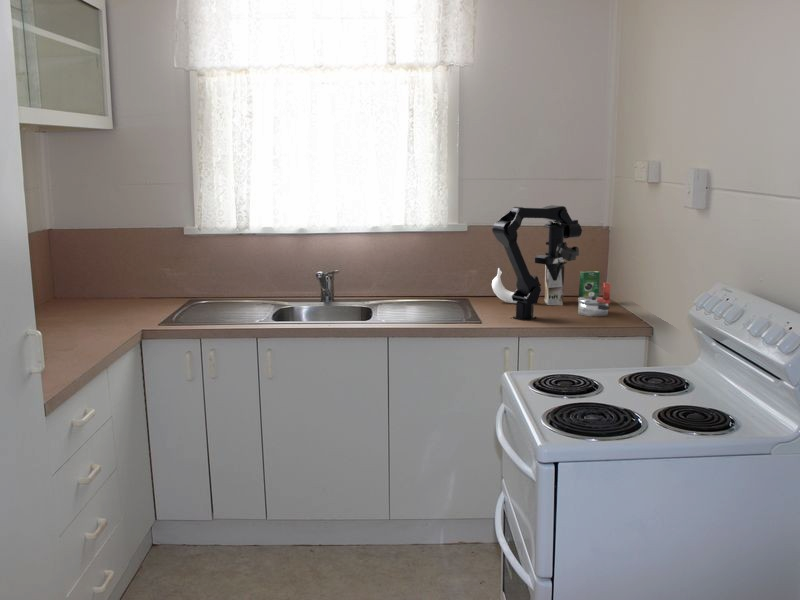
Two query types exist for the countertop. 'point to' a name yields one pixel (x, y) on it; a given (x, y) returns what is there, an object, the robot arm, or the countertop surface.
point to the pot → (593, 309)
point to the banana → (501, 289)
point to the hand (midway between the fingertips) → (554, 280)
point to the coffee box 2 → (589, 284)
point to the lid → (598, 300)
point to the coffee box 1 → (554, 288)
